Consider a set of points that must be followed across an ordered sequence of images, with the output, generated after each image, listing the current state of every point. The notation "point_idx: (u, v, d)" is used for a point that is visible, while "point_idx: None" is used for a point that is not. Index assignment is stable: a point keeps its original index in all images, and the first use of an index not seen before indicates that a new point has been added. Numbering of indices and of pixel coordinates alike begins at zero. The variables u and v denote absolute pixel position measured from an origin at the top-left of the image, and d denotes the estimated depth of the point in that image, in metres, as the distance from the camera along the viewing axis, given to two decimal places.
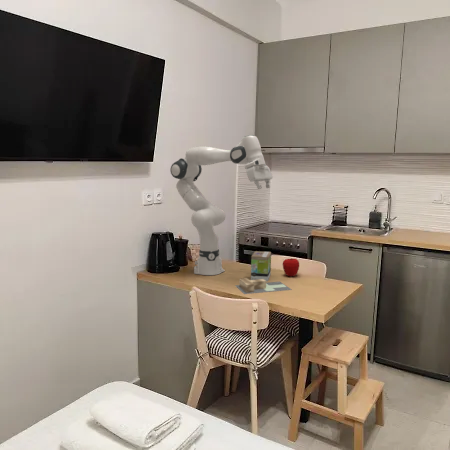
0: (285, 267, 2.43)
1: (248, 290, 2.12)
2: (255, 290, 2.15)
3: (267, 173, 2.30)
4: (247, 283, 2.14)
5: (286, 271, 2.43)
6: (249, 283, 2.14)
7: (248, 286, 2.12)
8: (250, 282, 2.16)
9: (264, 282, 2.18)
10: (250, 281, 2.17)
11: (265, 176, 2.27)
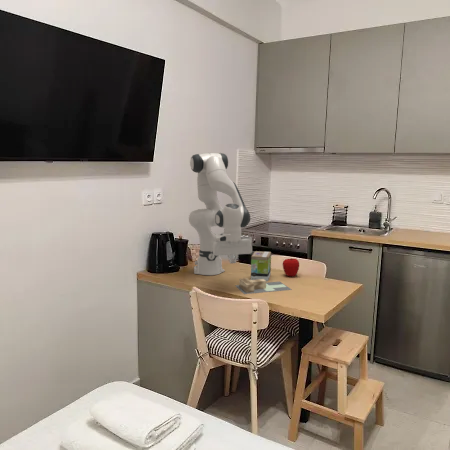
0: (285, 267, 2.43)
1: (248, 290, 2.12)
2: (255, 290, 2.15)
3: (243, 248, 2.13)
4: (247, 283, 2.14)
5: (286, 271, 2.43)
6: (249, 283, 2.14)
7: (248, 286, 2.12)
8: (250, 282, 2.16)
9: (264, 282, 2.18)
10: (250, 281, 2.17)
11: (237, 252, 2.12)
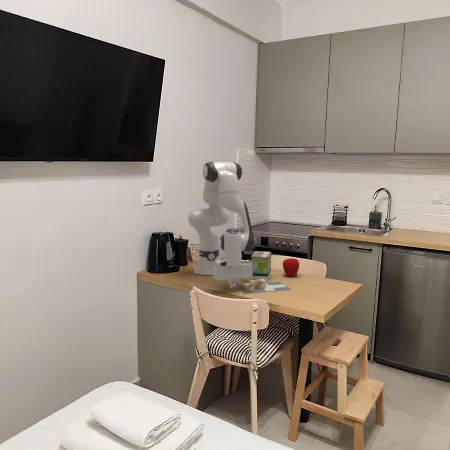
0: (285, 267, 2.43)
1: (248, 290, 2.12)
2: (255, 290, 2.15)
3: (244, 272, 2.15)
4: (247, 283, 2.14)
5: (286, 271, 2.43)
6: (249, 283, 2.14)
7: (248, 286, 2.12)
8: (250, 282, 2.16)
9: (264, 282, 2.18)
10: (250, 281, 2.17)
11: (237, 276, 2.14)
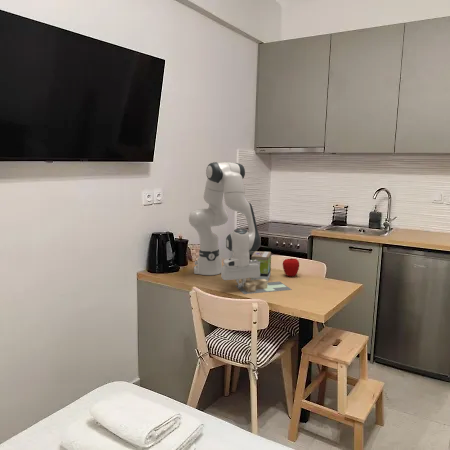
0: (285, 267, 2.43)
1: (249, 290, 2.12)
2: None
3: (251, 272, 2.16)
4: (248, 283, 2.14)
5: (286, 271, 2.43)
6: (250, 283, 2.14)
7: (249, 286, 2.12)
8: (252, 282, 2.16)
9: (265, 282, 2.18)
10: (252, 281, 2.17)
11: (245, 276, 2.15)
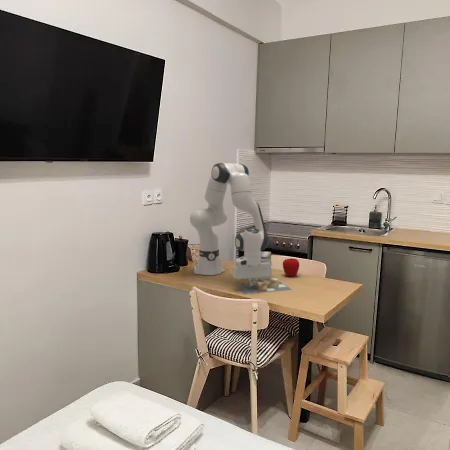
0: (285, 267, 2.43)
1: (261, 289, 2.14)
2: (255, 290, 2.15)
3: (263, 271, 2.17)
4: (260, 282, 2.16)
5: (286, 271, 2.43)
6: (262, 282, 2.15)
7: (261, 285, 2.13)
8: (263, 281, 2.18)
9: (277, 281, 2.20)
10: (263, 280, 2.19)
11: (257, 275, 2.16)
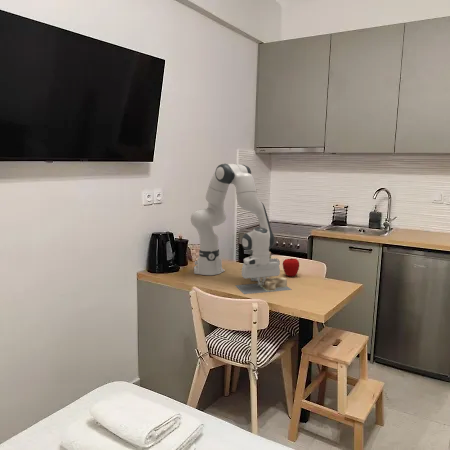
0: (285, 267, 2.43)
1: (269, 288, 2.15)
2: (255, 290, 2.15)
3: (271, 270, 2.18)
4: (268, 281, 2.17)
5: (286, 271, 2.43)
6: (270, 281, 2.17)
7: (269, 284, 2.15)
8: (272, 280, 2.19)
9: (285, 280, 2.21)
10: (271, 279, 2.20)
11: (265, 274, 2.18)
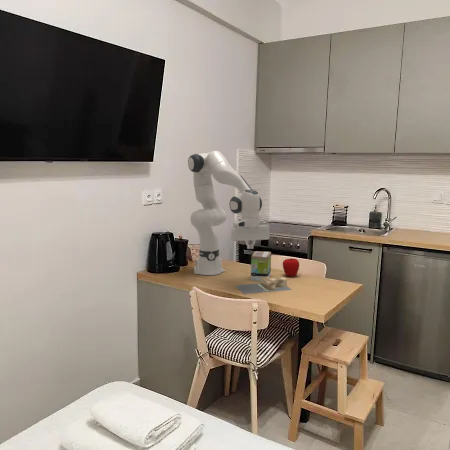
0: (285, 267, 2.43)
1: (269, 288, 2.15)
2: (255, 290, 2.15)
3: (261, 234, 2.14)
4: (268, 281, 2.17)
5: (286, 271, 2.43)
6: (270, 281, 2.17)
7: (269, 284, 2.15)
8: (272, 280, 2.19)
9: (285, 280, 2.21)
10: (271, 279, 2.20)
11: (254, 237, 2.14)
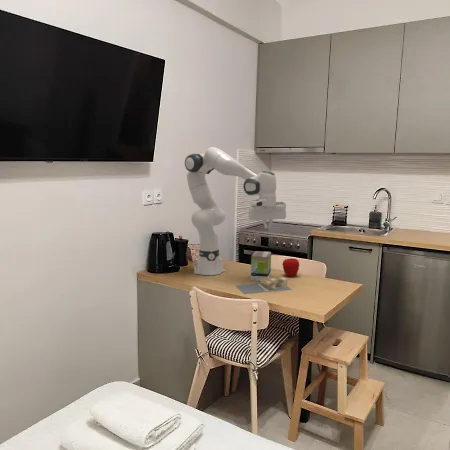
0: (285, 267, 2.43)
1: (269, 288, 2.15)
2: (255, 290, 2.15)
3: (278, 213, 2.23)
4: (268, 281, 2.17)
5: (286, 271, 2.43)
6: (270, 281, 2.17)
7: (269, 284, 2.15)
8: (272, 280, 2.19)
9: (285, 280, 2.21)
10: (271, 279, 2.20)
11: (272, 217, 2.22)
